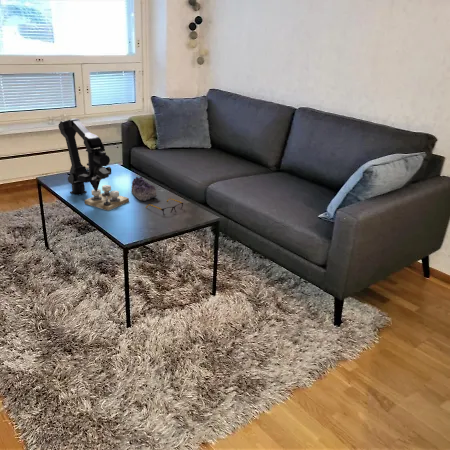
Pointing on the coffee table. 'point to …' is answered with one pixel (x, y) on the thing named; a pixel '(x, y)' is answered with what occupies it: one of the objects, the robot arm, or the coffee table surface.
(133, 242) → the coffee table surface
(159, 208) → the eyeglasses
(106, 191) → the knob
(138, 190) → the geode
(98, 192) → the knob
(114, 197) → the knob
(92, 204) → the panel
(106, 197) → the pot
